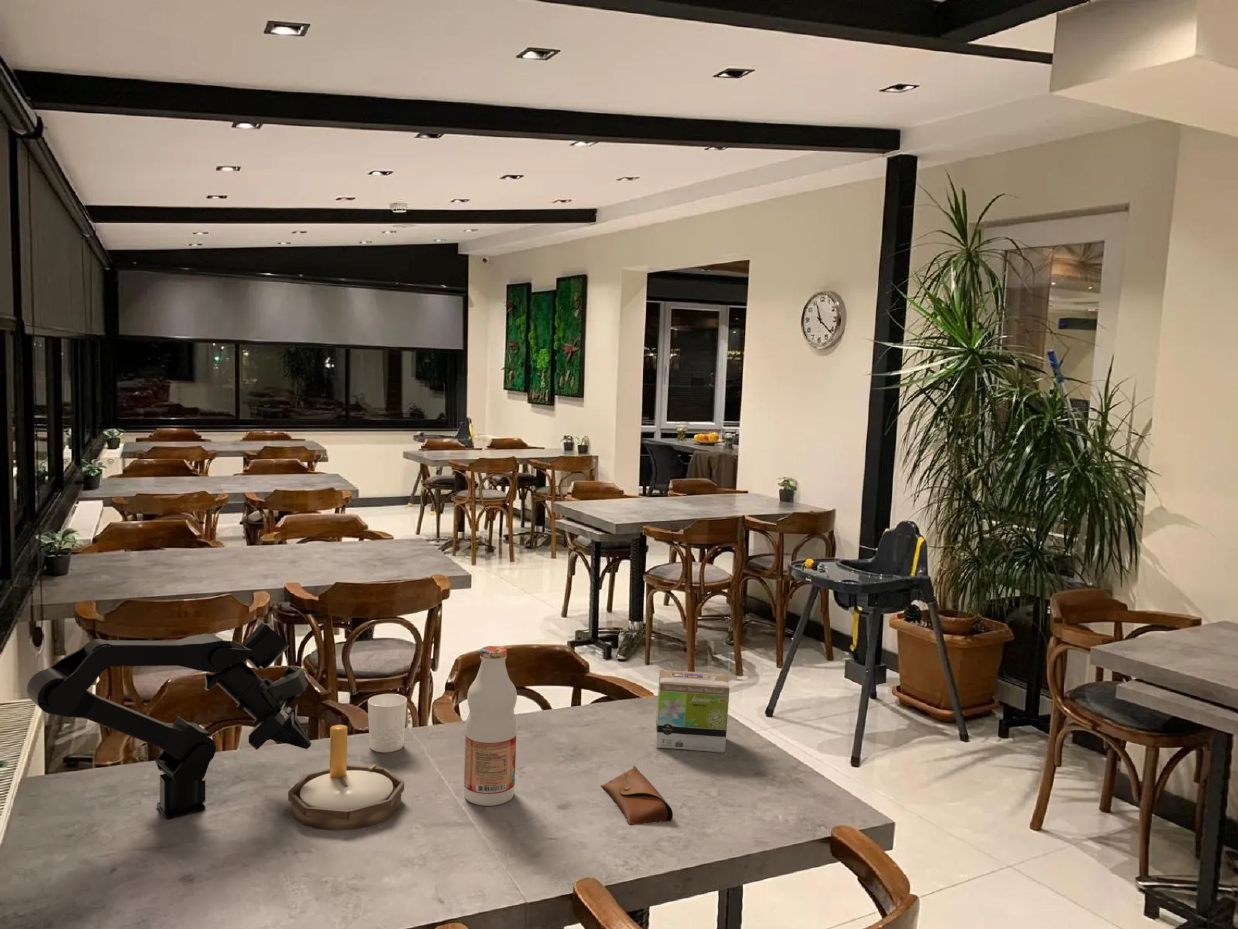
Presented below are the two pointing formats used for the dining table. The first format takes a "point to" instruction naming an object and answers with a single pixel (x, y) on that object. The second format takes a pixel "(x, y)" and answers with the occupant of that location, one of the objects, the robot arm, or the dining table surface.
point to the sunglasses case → (638, 798)
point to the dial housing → (345, 818)
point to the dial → (344, 781)
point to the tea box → (692, 711)
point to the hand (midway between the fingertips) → (309, 746)
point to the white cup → (387, 722)
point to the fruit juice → (490, 732)
